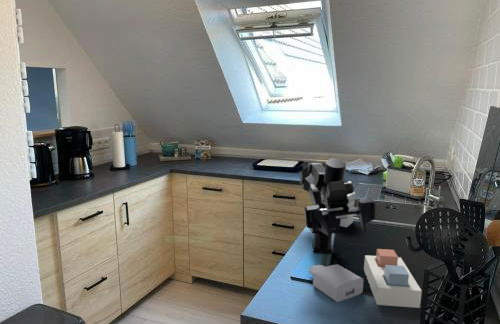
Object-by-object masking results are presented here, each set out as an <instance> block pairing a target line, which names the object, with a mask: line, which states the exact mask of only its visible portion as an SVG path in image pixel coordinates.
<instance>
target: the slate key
mask: <svg viewBox="0 0 500 324" xmlns="http://www.w3.org/2000/svg"><path fill="white" fill-rule="evenodd" d="M408 279H409V274H408V272H407V271H406V269H405V268H404V266H394V265H385V270H384V280H385V282H386V284H387V285H389V286H403V287H408Z"/></svg>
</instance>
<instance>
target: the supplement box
mask: <svg viewBox="0 0 500 324" xmlns="http://www.w3.org/2000/svg"><path fill="white" fill-rule="evenodd" d="M347 197H348V199H349V204H347V205H348V207H349V208H353V207H355V200H356V192H355V191H353V193H352V194H348V195H347ZM340 220H341V222H340V227H343V228H348V227H349V226H351V224H353V223H354V216H352V217H347V218H344V219H340Z"/></svg>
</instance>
